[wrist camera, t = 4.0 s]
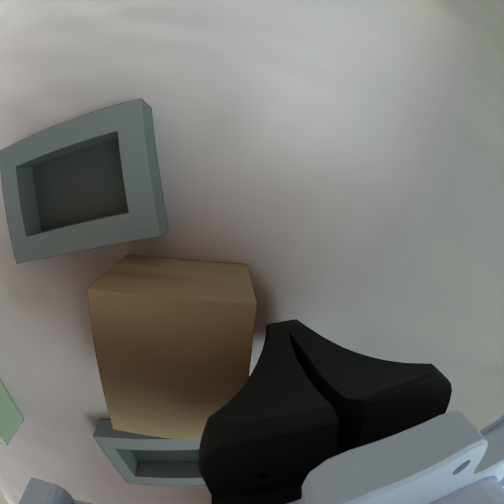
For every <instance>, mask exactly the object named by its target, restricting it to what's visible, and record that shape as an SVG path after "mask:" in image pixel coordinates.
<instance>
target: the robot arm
mask: <svg viewBox="0 0 504 504" xmlns="http://www.w3.org/2000/svg"><path fill="white" fill-rule="evenodd" d="M451 392H452V389H451V383H450V382H449V381H448V379H447V378H446V377H445V376H444V375H443V374H442V373H441V372H440V371H439V370H438V369H437V368H436V367H435V366H434V365H432V364H415V363H400V362H392V361H386V360H381V359H377V358H373V357H369V356H365V355H362V354H359V353H356V352H353V351H351V350H348V349H346V348H343V347H341V346H339V345H337V344H335V343H333V342H331V341H329V340H327V339H326V338H324V337H322V336H320V335H319V334H317V333H316V332H314V331H313V330H311V329H310V328H308V327H307V326H305V325H304V324H302V323H301V322H300V321H298V320H297V319H295V320H289V321H283V322H277V323H271V324H268V325H267V326H266V338H265V342H264V346H263V350H262V352H261V355H260V357H259V360H258V362H257V364H256V366H255V368H254V370H253V372H252V374H251V375H250V377H249V378H248V380H247V381H246V383H245V384H244V385H243V387H242V388H241V389H240V390H239V392H238V393H237V394H236V395H235V396H234V397H233V398H232V399H231V400H230V401H229V402H228V403H227V404H226V405H224V406H223V407H222V408H220V409H219V410H218V411H216V412H215V413H214V414H212V415H211V416H209V417H208V419H207V422H206V425H205V428H204V431H203V434H202V437H201V442H200V447H199V458H198V467H199V472H200V474H201V476H202V478H203V480H204V482H205V484H206V486H207V488H208V490H209V491H210V493H211V495H212V504H504V415H503V416H502V417H500V418H499V419H497V420H496V421H495V422H493V423H492V424H490V425H489V426H487V427H486V428H484V429H483V430H481V431H479V430H478V429H477V428H476V427H475V426H474V425H473V424H472V422H471V421H470V420H469V419H468V418H467V417H466V416H465V415H464V414H463V413H461V412H460V411H458V410H457V411H452V412H449V413H445V412H446V410H447V407H448V404H449V401H450V397H451ZM19 504H92V503H87V502H83V501H78V500H74V499H73V498H72V497H71V495H70V494H69V493H68V492H67V491H66V490H64V489H63V488H62V487H60V486H58V485H56V484H53V483H49V482H46V481H43V480H39V479H36V478H31V479H30V481H29V483H28V485H27V487H26V489H25V492H24V494H23V496H22V498H21V500H20V503H19Z"/></svg>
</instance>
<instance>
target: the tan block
mask: <svg viewBox="0 0 504 504" xmlns="http://www.w3.org/2000/svg"><path fill="white" fill-rule="evenodd" d="M87 291H88V301H89V310H90V318H91V326H92V333H93V340H94V346H95V352H96V358H97V363H98V368H99V373H100V378H101V383H102V387H103V392H104V396H105V400H106V404H107V408H108V412H109V415H110V419H111V423H112V426H113V429H115V430H120V431H125V432H130V433H136V434H142V435H148V436H155V437H162V438H170V439H179V440H189V441H201V437H202V434H203V431H204V428H205V425H206V422H207V419H208V417H209V416H211V415H212V414H214V413H215V412H216V411H218V410H219V409H220V408H222V407H223V406H224V405H226V404H227V403H228V402H229V401H230V400H231V399H232V398H233V397H234V396H235V395H236V394H237V393H238V392H239V390H240V389H241V388H242V387H243V385H244V384H245V383H246V381H247V380H248V378H249V369H250V361H251V352H252V343H253V334H254V326H255V317H256V308H257V302H256V298H255V294H254V290H253V286H252V282H251V278H250V274H249V270H248V266H247V264H235V263H221V262H207V261H194V260H180V259H167V258H155V257H142V256H130V255H127V256H126V257H124V258H123V259H122V260H121V261H119V262H118V263H117V264H116V265H115V266H113V267H112V268H111V269H110V270H109V271H107V272H106V273H105V274H104V275H103V276H101V277H100V278H99V279H98V280H97V281H95V282H94V283H93V284H92V285H91V286H90V287H88V288H87Z"/></svg>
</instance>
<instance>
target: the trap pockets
mask: <svg viewBox="0 0 504 504" xmlns="http://www.w3.org/2000/svg"><path fill="white" fill-rule="evenodd" d="M0 169H1V180H2V189H3V197H4V204H5V210H6V217H7V222H8V228H9V233H10V238H11V242H12V247H13V251H14V255H15V259H16V263H17V264H18V263H23V262H28V261H32V260H37V259H42V258H47V257H52V256H57V255H61V254H66V253H71V252H77V251H82V250H87V249H92V248H97V247H103V246H108V245H113V244H119V243H124V242H130V241H135V240H141V239H147V238H152V237H158V236H161V235H162V234H163V233H165V232H166V231H167V230H168V224H167V218H166V212H165V207H164V201H163V194H162V188H161V181H160V175H159V168H158V161H157V153H156V145H155V137H154V129H153V119H152V110H151V107H150V106H149V105H148V104H147V103H146V102H145V101H144V100H143V99H142V98H140V99H136V100H132V101H129V102H125V103H121V104H118V105H114V106H111V107H108V108H104V109H101V110H98V111H95V112H92V113H89V114H86V115H83V116H80V117H77V118H74V119H72V120H69V121H66V122H64V123H61V124H58V125H56V126H53V127H51V128H48V129H46V130H44V131H41V132H39V133H37V134H34V135H32V136H30V137H28V138H25V139H23V140H21V141H19V142H17V143H15V144H13V145H11V146H9V147H7V148H5V149H3V150H1V151H0ZM23 421H24V419H23V417H22V416H21V414H20V412H19V411H18V409H17V408H16V406H15V404H14V403H13V401H12V399H11V398H10V396H9V394H8V393H7V391H6V389H5V387H4V385H3V384H2V382H1V380H0V443H1V444H4V445H8V444H9V442H10V441H11V439H12V437H13V436H14V434H15V433H16V431H17V430H18V428H19V427H20V425H21V424H22V422H23ZM93 437H94V439H95V440H96V442H97V443H98V445H99V446H100V448H101V449H102V450H103V452H104V453H105V455H106V456H107V457H108V459H109V460H110V462H111V463H112V464H113V466H114V467H115V468H116V470H117V471H118V472H119V473H120V475H121V476H122V477H123V479H124V480H125V481H126V482H127V483H131V484H144V485H164V486H199V485H206V484H205V482H204V480H203V478H202V476H201V474H200V472H199V467H198V458H199V447H200V442H201V441H189V440H179V439H170V438H162V437H155V436H148V435H142V434H136V433H130V432H125V431H120V430H115V429H113V426H112V423H111V420H103V419H100V421H99V423H98V426H97V428H96V430H95V433H94V435H93Z"/></svg>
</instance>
